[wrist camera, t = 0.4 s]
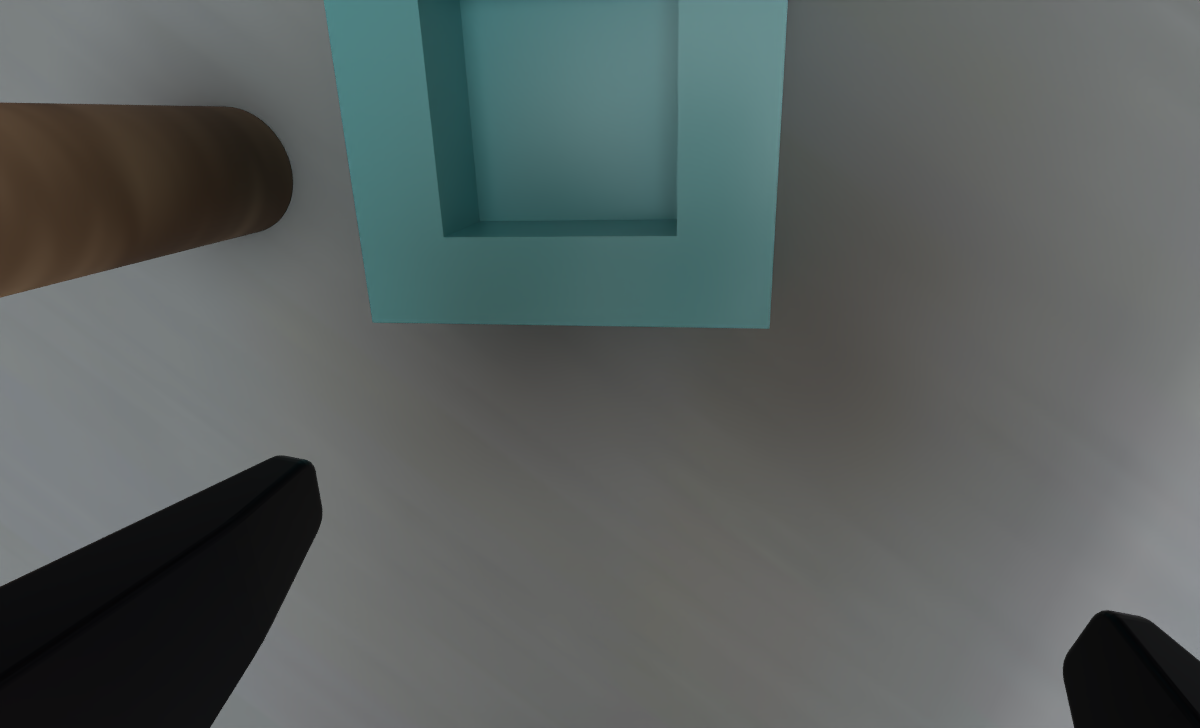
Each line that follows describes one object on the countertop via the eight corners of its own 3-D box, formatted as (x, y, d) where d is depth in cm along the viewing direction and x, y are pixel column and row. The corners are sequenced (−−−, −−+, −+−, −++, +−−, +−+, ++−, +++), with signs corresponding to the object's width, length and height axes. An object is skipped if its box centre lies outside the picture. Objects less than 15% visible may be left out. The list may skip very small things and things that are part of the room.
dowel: (286, 247, 23) (-155, 384, 11) (177, 212, 23) (-366, 310, 11) (298, 127, 21) (-195, 143, 10) (182, 90, 22) (-436, 62, 10)
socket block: (759, 291, 21) (769, 328, 17) (428, 289, 23) (372, 322, 19) (780, -124, 17) (798, -189, 14) (382, -89, 19) (302, -139, 15)
